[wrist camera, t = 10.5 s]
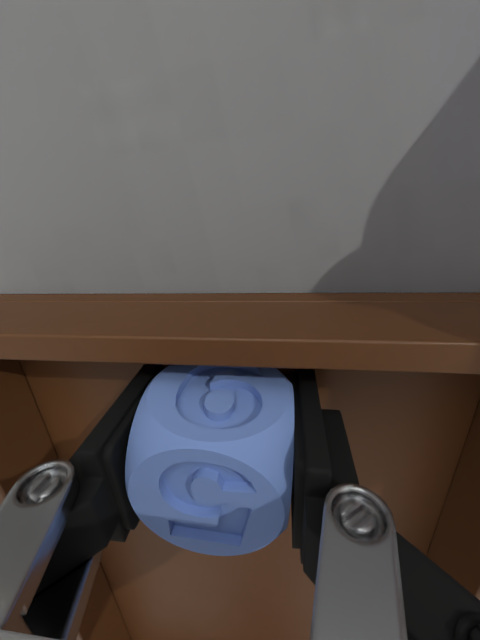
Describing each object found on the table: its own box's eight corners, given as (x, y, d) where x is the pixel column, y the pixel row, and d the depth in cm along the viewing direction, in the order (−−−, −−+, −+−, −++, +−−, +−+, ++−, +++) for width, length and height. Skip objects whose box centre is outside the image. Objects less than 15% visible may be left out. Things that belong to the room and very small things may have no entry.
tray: (-4, 293, 11) (-109, 332, 8) (523, 291, 9) (650, 346, 6) (135, 644, 22) (112, 715, 19) (384, 687, 20) (402, 776, 17)
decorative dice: (180, 434, 12) (134, 545, 8) (173, 345, 10) (110, 434, 6) (282, 446, 11) (283, 569, 8) (292, 355, 10) (298, 457, 6)
